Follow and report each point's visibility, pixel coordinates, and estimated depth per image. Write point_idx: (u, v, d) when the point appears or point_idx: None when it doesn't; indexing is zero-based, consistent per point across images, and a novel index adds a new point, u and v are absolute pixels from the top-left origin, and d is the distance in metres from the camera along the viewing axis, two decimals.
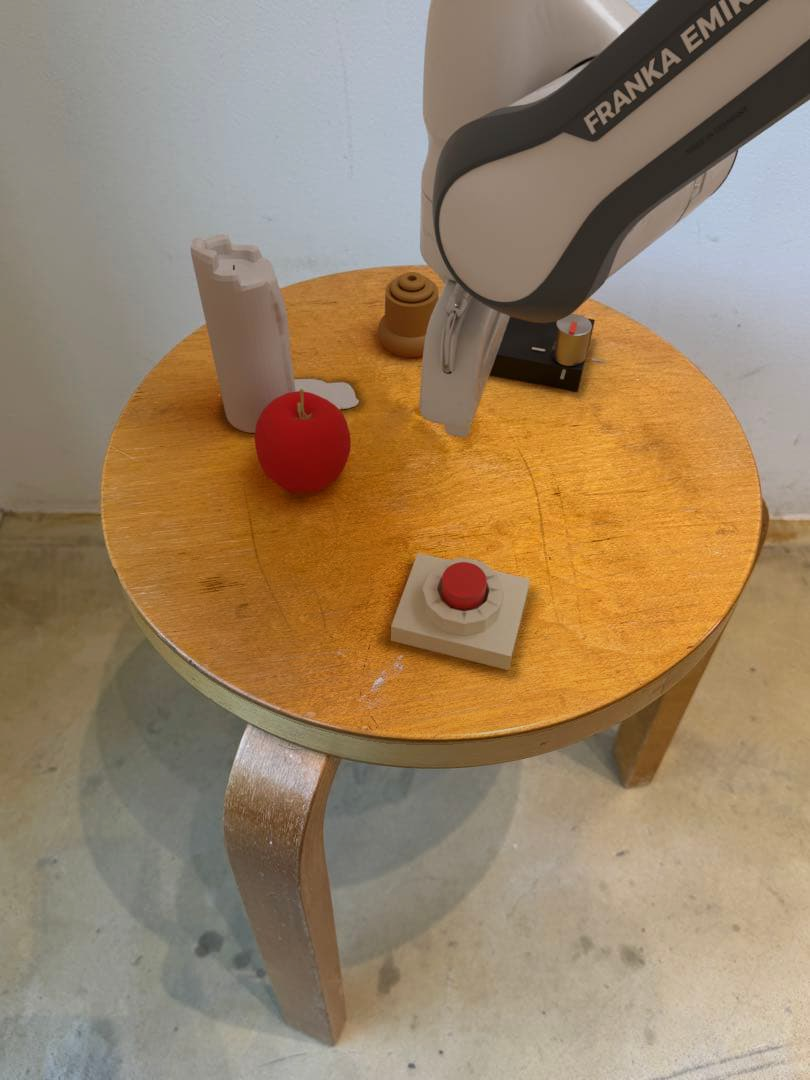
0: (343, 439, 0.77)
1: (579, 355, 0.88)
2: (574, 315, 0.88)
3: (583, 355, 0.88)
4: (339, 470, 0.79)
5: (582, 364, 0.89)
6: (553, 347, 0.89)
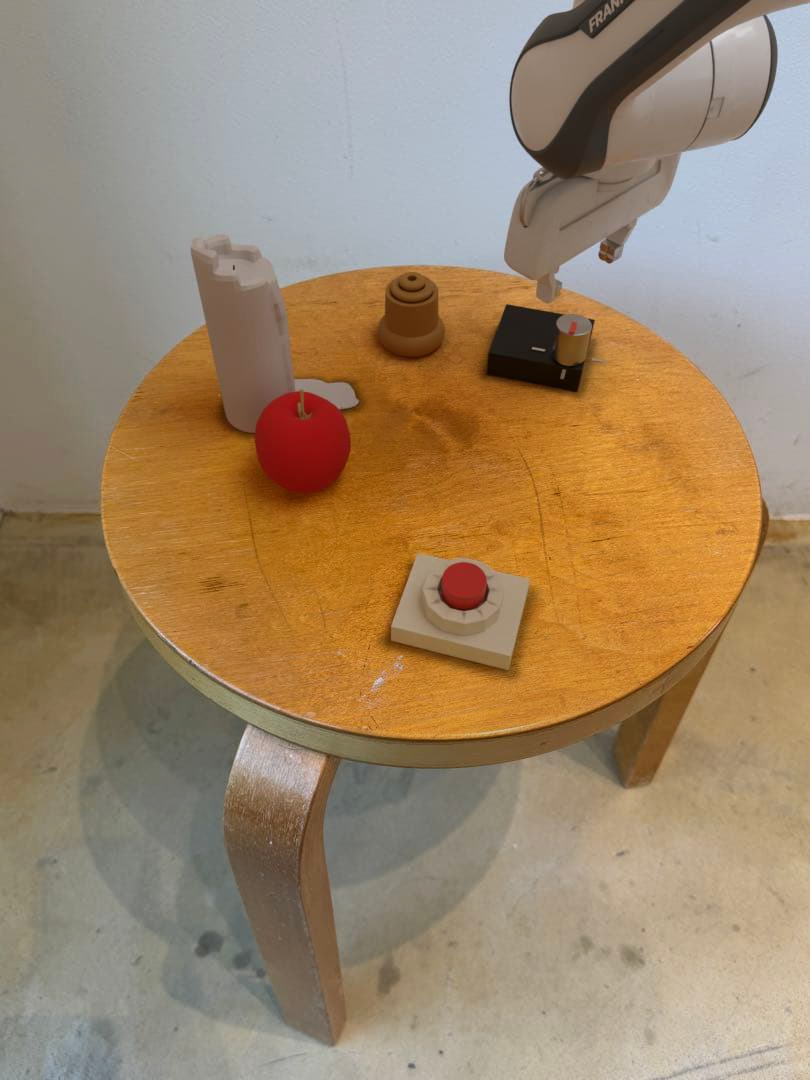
0: (343, 439, 0.77)
1: (579, 355, 0.88)
2: (574, 315, 0.88)
3: (583, 355, 0.88)
4: (339, 470, 0.79)
5: (582, 364, 0.89)
6: (553, 347, 0.89)
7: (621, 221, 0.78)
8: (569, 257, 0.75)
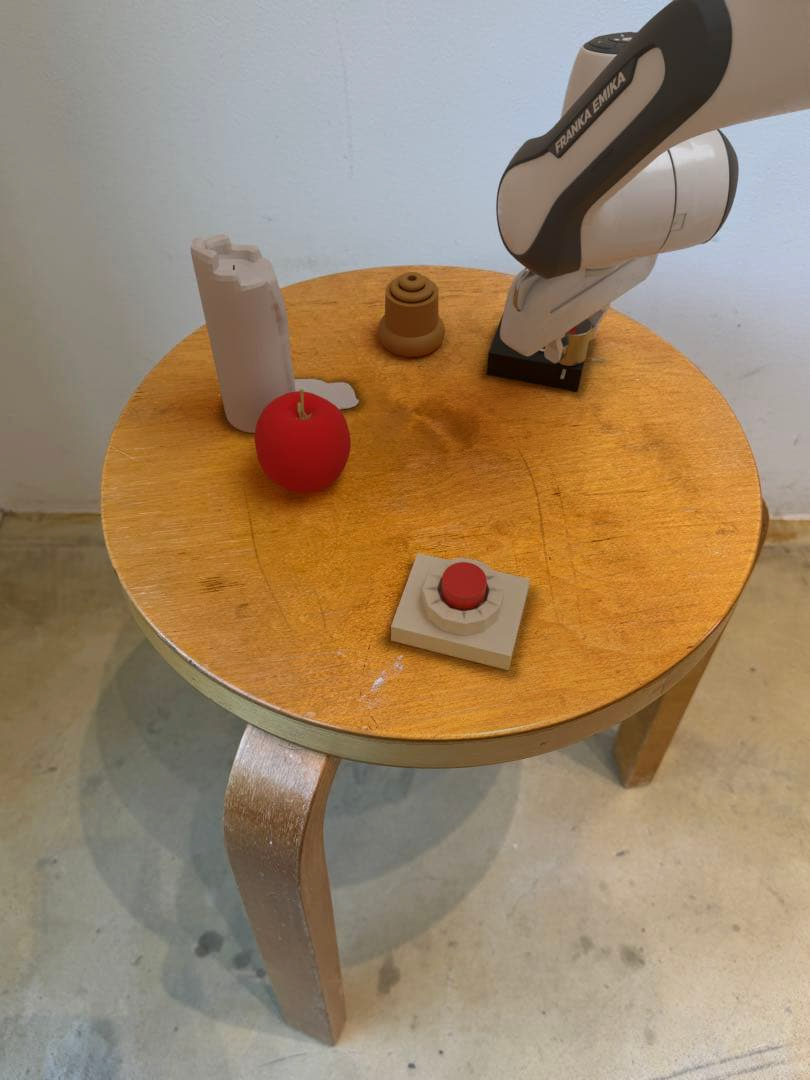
0: (343, 439, 0.77)
1: (579, 355, 0.88)
2: None
3: (583, 355, 0.88)
4: (339, 470, 0.79)
5: (582, 364, 0.89)
6: None
7: (608, 298, 0.85)
8: (560, 334, 0.82)
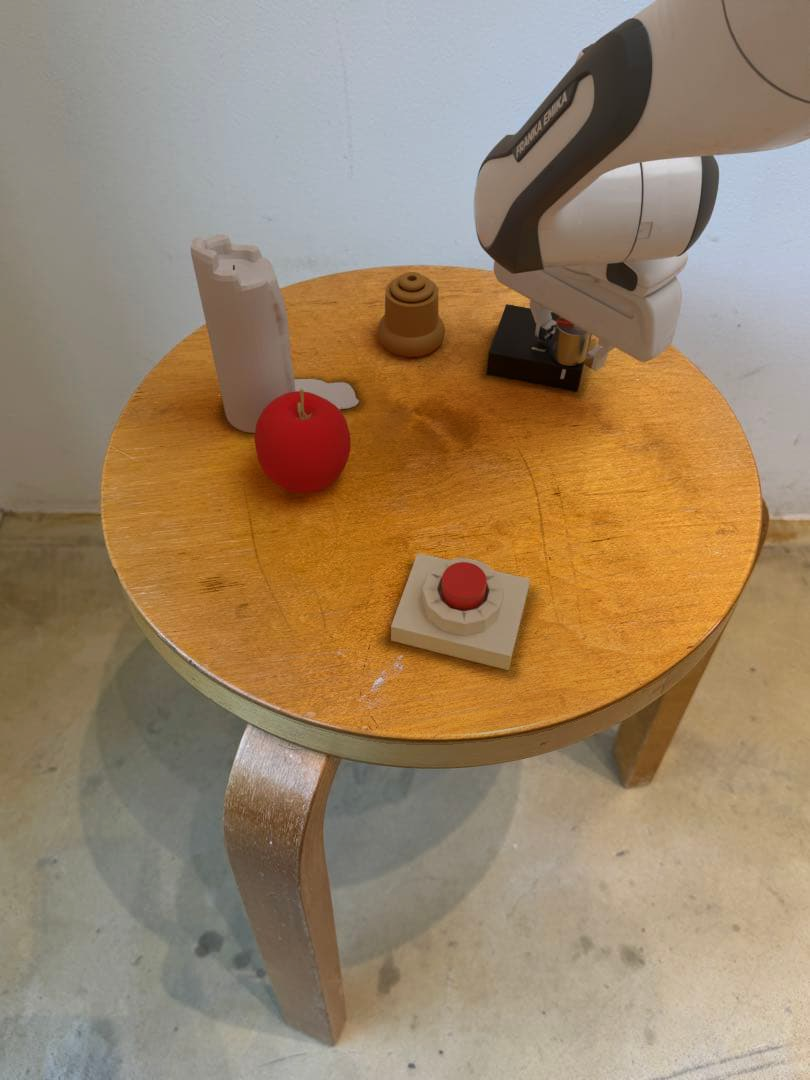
0: (343, 439, 0.77)
1: (555, 350, 0.88)
2: None
3: (559, 355, 0.88)
4: (339, 470, 0.79)
5: (582, 364, 0.89)
6: None
7: (585, 323, 0.83)
8: (527, 295, 0.87)
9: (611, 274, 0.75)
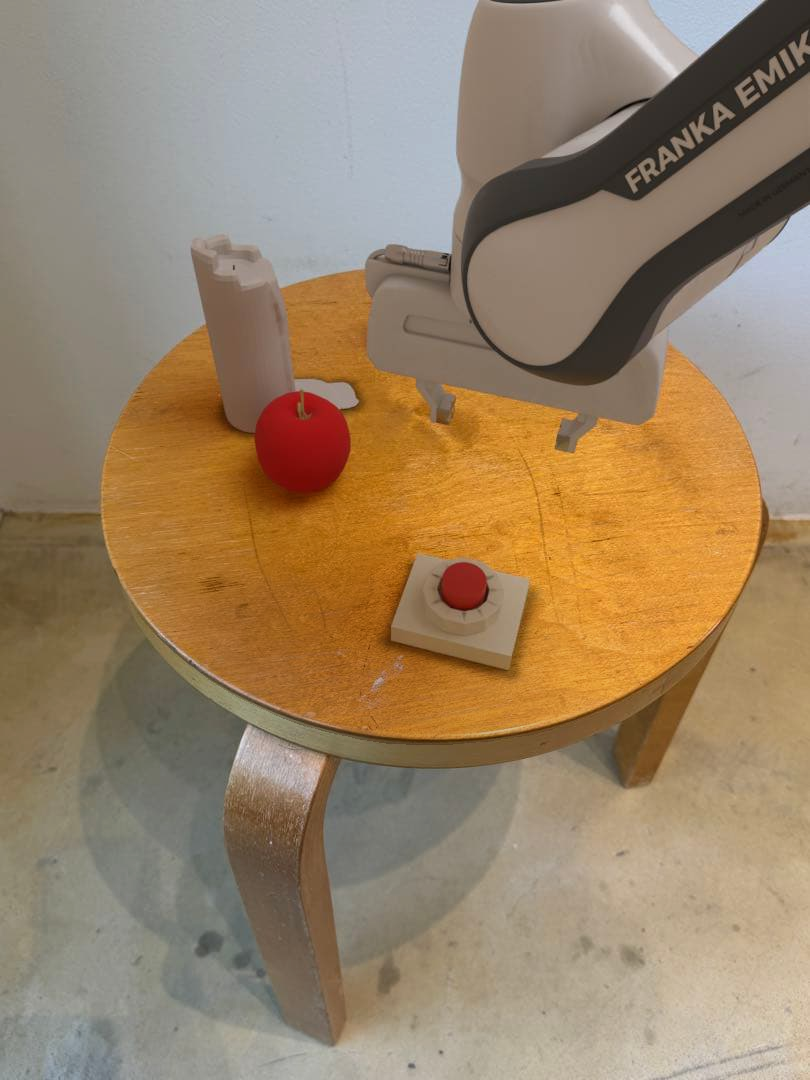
0: (343, 439, 0.77)
1: None
2: None
3: None
4: (339, 470, 0.79)
5: None
6: None
7: (538, 395, 0.57)
8: (433, 378, 0.59)
9: None
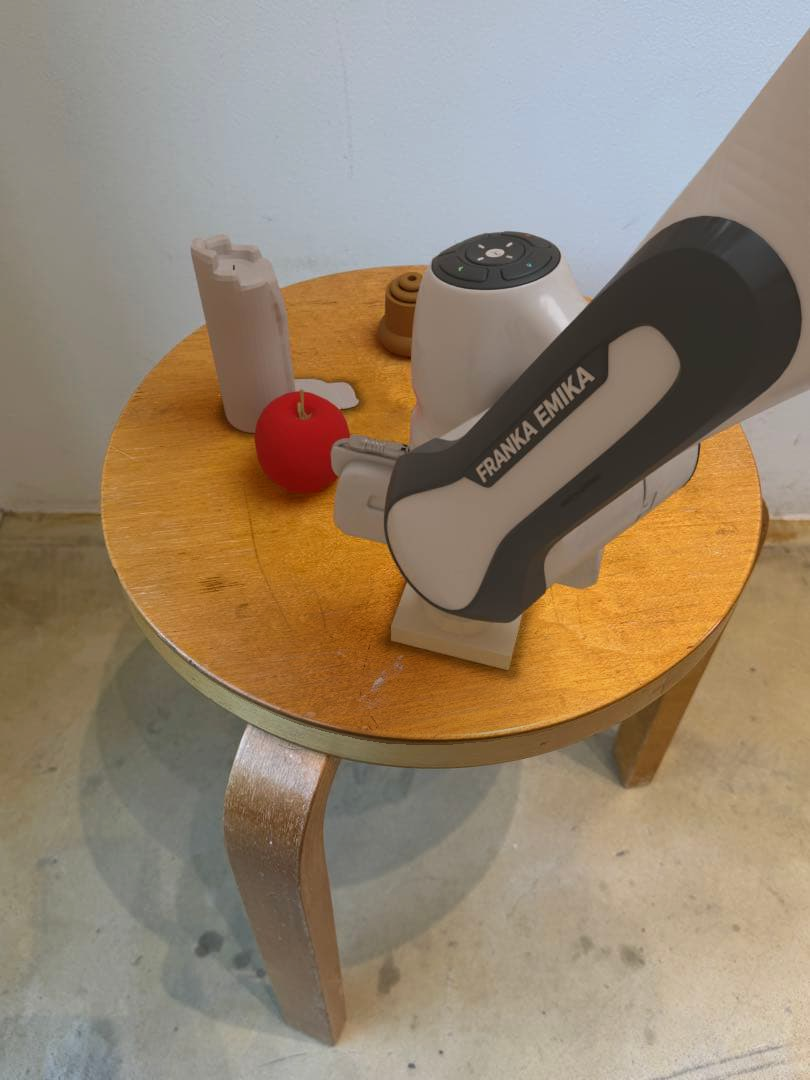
0: None
1: None
2: None
3: None
4: None
5: None
6: None
7: None
8: None
9: None
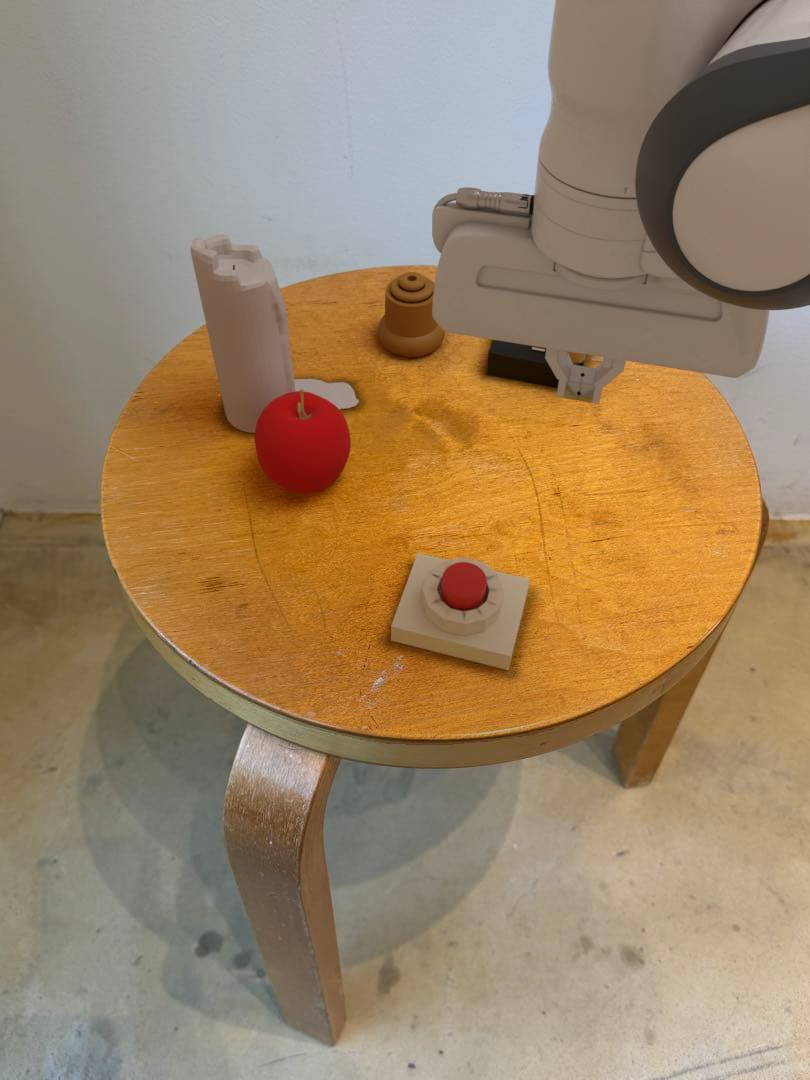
0: (343, 439, 0.77)
1: None
2: None
3: None
4: (339, 470, 0.79)
5: (582, 364, 0.89)
6: None
7: (626, 349, 0.52)
8: (507, 337, 0.54)
9: None
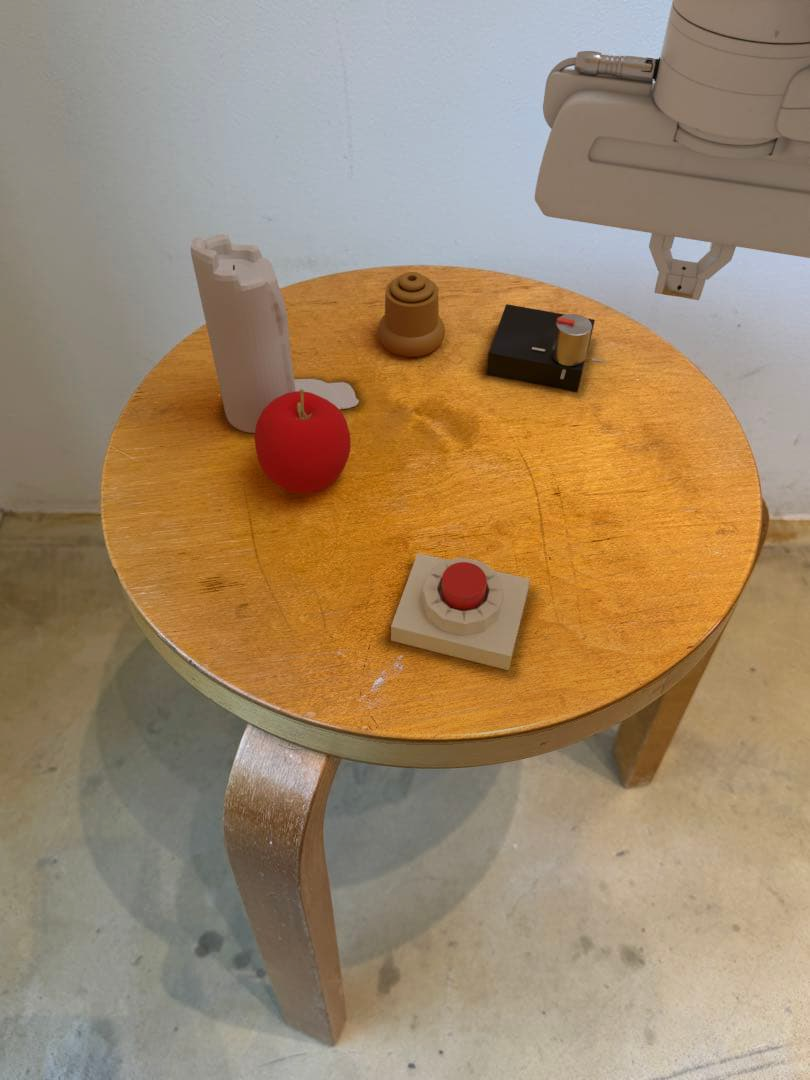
0: (343, 439, 0.77)
1: (555, 350, 0.88)
2: (588, 325, 0.86)
3: (559, 355, 0.88)
4: (339, 470, 0.79)
5: (582, 364, 0.89)
6: None
7: (739, 232, 0.50)
8: (613, 220, 0.52)
9: None
